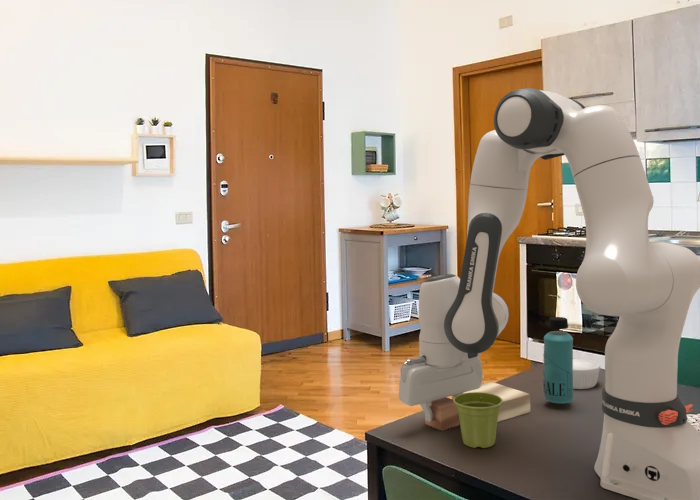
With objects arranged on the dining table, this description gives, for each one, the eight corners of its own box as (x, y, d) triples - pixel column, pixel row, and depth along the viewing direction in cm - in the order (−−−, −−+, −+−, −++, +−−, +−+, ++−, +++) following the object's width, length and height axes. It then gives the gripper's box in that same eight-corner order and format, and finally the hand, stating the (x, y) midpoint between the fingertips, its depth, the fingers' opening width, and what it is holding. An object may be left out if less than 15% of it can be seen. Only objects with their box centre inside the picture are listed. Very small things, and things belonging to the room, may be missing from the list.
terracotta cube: (459, 425, 135) (458, 401, 135) (441, 430, 132) (440, 406, 132) (443, 418, 139) (443, 396, 139) (425, 423, 137) (424, 400, 136)
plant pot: (443, 441, 127) (442, 398, 126) (477, 430, 132) (476, 388, 131) (480, 456, 119) (479, 411, 118) (513, 443, 125) (513, 399, 124)
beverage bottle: (570, 400, 148) (569, 314, 146) (577, 410, 141) (577, 320, 140) (540, 400, 149) (540, 314, 147) (546, 410, 142) (546, 320, 140)
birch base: (530, 411, 142) (530, 394, 141) (490, 424, 135) (490, 405, 135) (490, 398, 152) (490, 381, 151) (451, 408, 145) (451, 391, 145)
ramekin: (543, 380, 164) (543, 360, 164) (582, 375, 167) (582, 355, 167) (568, 393, 154) (568, 371, 153) (609, 388, 156) (609, 367, 156)
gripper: (410, 364, 126) (412, 432, 128) (486, 347, 137) (487, 410, 139) (391, 357, 132) (393, 423, 133) (466, 342, 143) (467, 403, 144)
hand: (442, 417), depth 136 cm, fingers closed on terracotta cube, 5 cm apart
